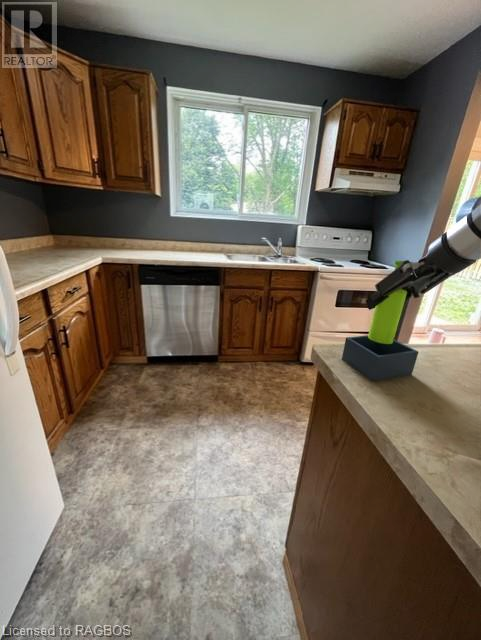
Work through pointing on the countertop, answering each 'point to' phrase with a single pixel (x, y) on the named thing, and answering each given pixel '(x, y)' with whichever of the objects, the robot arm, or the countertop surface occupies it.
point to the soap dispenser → (387, 316)
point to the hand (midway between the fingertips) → (379, 304)
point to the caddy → (379, 358)
